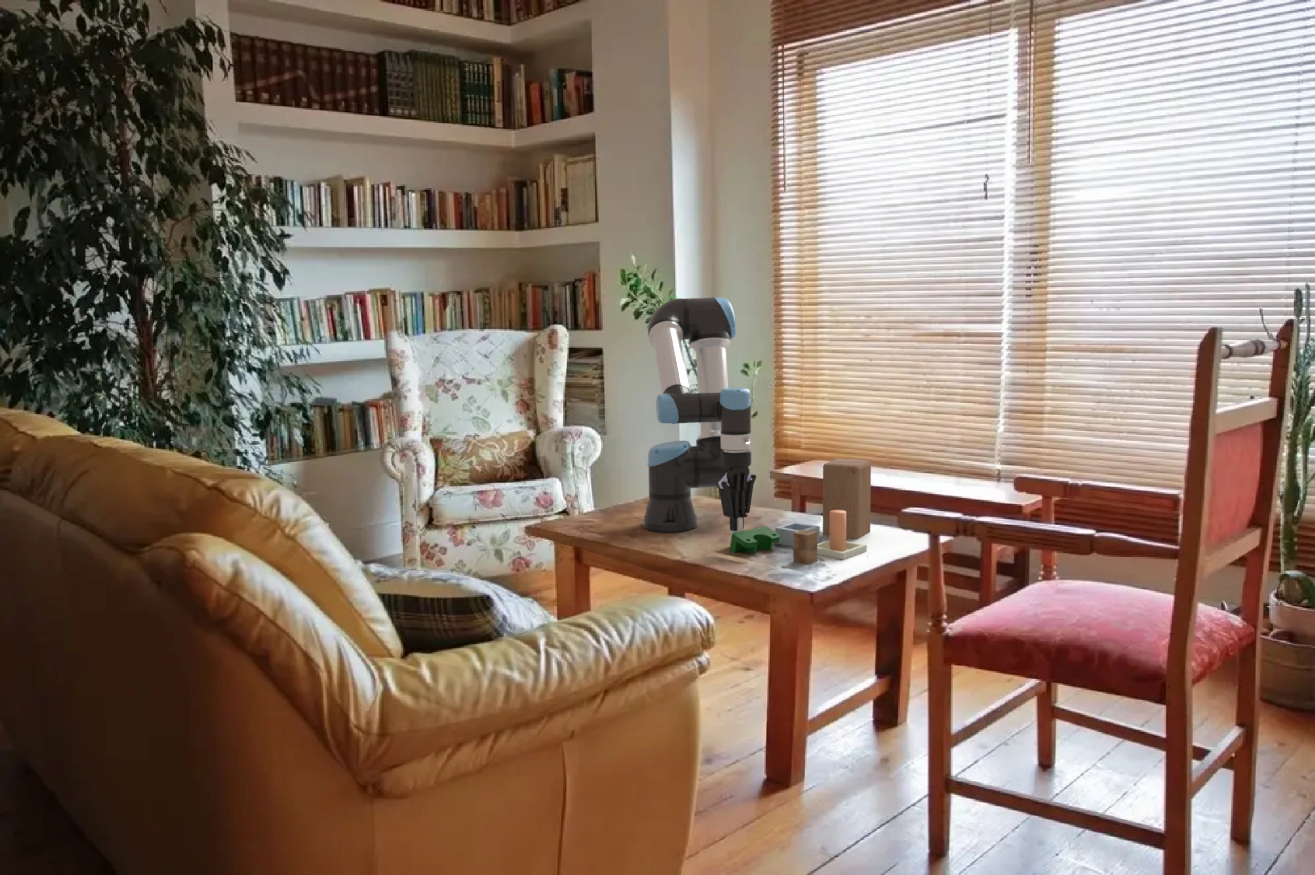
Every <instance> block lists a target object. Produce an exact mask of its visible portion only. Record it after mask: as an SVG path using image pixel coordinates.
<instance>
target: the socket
mask: <svg viewBox="0 0 1315 875" xmlns="http://www.w3.org/2000/svg"><path fill="white" fill-rule="evenodd" d="M820 529H821V527H820V526H819V525H813V524H809V523H804V522H797V521H792V522H789V523H786V524H782V525H779V526H776V527H774V531H775V532H776V533H778V534H779V535H780V538H779V542H776V543H775V544H779V545H782V546H789V547H793V533H794V532H797V531H801V530H808V531H814V532H817V544H818V543H821V539H820V538H821V532H820V531H821V530H820Z"/></svg>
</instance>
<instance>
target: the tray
mask: <svg viewBox="0 0 1315 875" xmlns="http://www.w3.org/2000/svg"><path fill="white" fill-rule="evenodd" d="M867 547H868V545H867V544H863V543H859V542H853V541H847V540H846V551H843V552H841V551H836V550H831V549H830V539H827V540H824V541H820V542H818V543H817V556H818V555H819V556H825V557H829V558H834V559H839V560H846V559H847V560H848V559H849V558H852V557H855V556H857V555H860V554H863V553H866V552H867V551H868V548H867Z"/></svg>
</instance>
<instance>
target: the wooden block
mask: <svg viewBox="0 0 1315 875" xmlns="http://www.w3.org/2000/svg"><path fill="white" fill-rule="evenodd" d="M871 473H872V464H871V461H869V460H863V459H854V458H840V457H839V458H836V459H833V460H831V461H829V462H825V463H824V464H823V466H822V536H825V537H826V536H827V537H830V511H832V510H843V511H846V539H849V540H851V539H852V540H860V539H861V538H863V537H864V536H865V535H868V534H869V533H871V506H872V505H871V496H872V495H871V493H872V492H871V491H872V490H871V489H872V488H871V487H872V486H871V485H872V476H871V475H872V474H871Z"/></svg>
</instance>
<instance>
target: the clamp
mask: <svg viewBox="0 0 1315 875" xmlns="http://www.w3.org/2000/svg"><path fill="white" fill-rule="evenodd" d="M779 538H780V535H779V534H778V533H776V532H775V530H773V529H772V528H770V527H769V526H761V527H758V528H757V527H756V528H752V529H745V530H743V531H740V532H735V533H732V537H731V536H730V544H729V551H730V552H731V553H734V554H735V553H738V552H745V553H748V554H751V555H756V553H757V550H765V551H769V552H772V549H773V548H772V547H773V544H777V543H776V542H779Z"/></svg>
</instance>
